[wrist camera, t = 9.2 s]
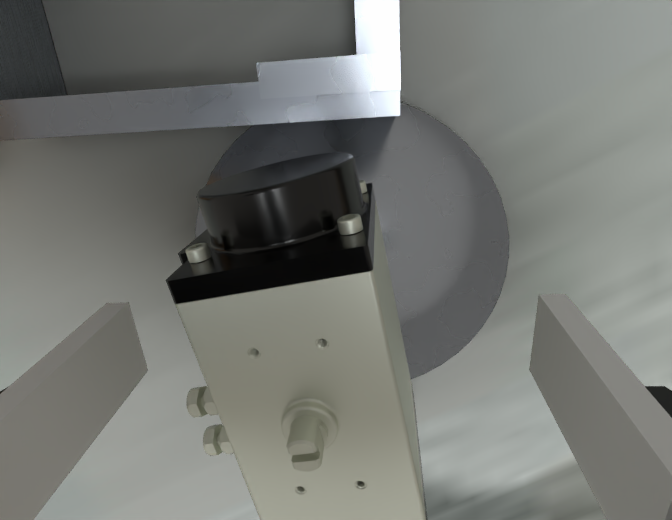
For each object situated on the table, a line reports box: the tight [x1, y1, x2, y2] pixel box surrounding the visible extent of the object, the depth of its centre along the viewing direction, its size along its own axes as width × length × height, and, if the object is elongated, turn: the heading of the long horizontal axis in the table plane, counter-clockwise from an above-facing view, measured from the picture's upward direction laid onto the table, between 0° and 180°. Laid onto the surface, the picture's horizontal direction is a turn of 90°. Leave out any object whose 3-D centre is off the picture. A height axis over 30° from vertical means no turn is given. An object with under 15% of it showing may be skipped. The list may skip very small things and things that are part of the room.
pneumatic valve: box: [166, 152, 427, 520], centre depth 16 cm, size 6×12×12 cm, turn 13°
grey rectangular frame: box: [0, 0, 400, 140], centre depth 17 cm, size 9×17×4 cm, turn 94°
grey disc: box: [195, 52, 509, 379], centre depth 20 cm, size 18×15×4 cm
